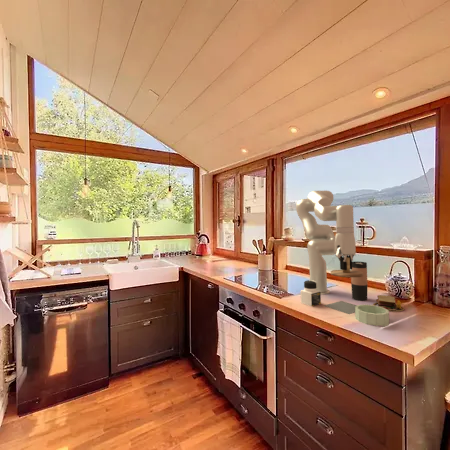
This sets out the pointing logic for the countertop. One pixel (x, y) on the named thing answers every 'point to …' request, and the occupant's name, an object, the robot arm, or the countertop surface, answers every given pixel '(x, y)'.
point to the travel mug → (359, 282)
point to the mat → (342, 307)
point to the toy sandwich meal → (388, 303)
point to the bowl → (372, 315)
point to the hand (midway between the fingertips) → (346, 268)
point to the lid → (347, 271)
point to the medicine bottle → (310, 294)
